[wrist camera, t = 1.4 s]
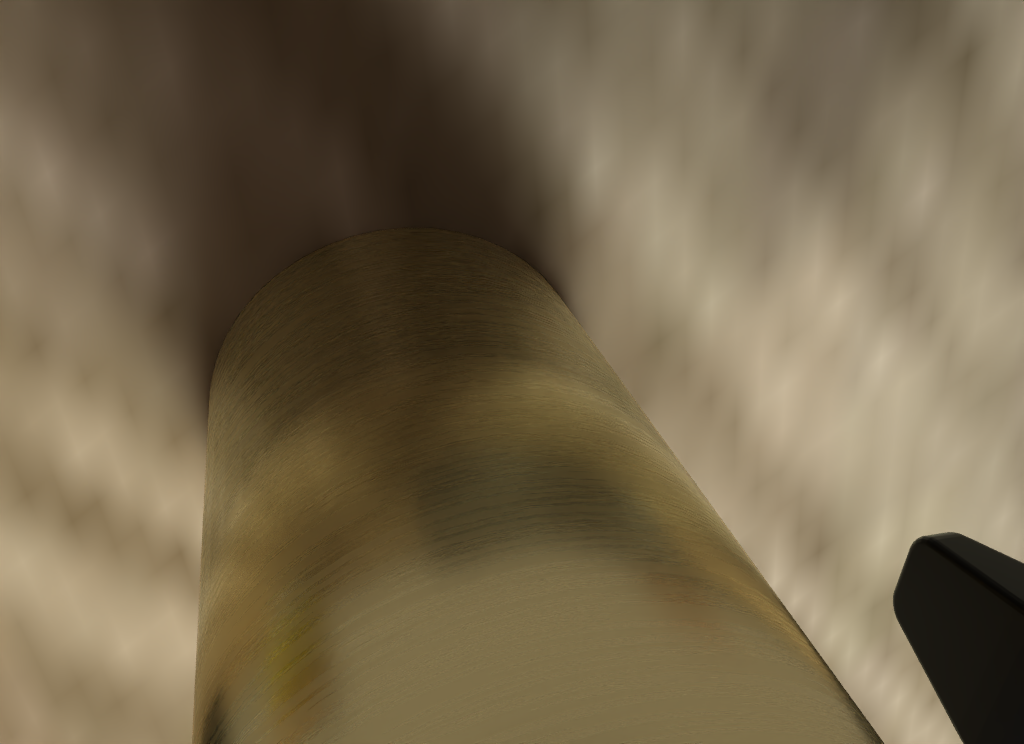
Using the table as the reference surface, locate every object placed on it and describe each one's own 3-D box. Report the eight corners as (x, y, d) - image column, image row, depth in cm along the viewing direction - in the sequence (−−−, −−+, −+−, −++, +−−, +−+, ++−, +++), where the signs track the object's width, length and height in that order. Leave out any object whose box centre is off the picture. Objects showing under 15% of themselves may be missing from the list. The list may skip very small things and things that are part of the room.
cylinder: (601, 219, 11) (1198, 822, 4) (566, 526, 13) (909, 1221, 6) (184, 237, 9) (61, 1141, 3) (231, 571, 12) (224, 1487, 5)
